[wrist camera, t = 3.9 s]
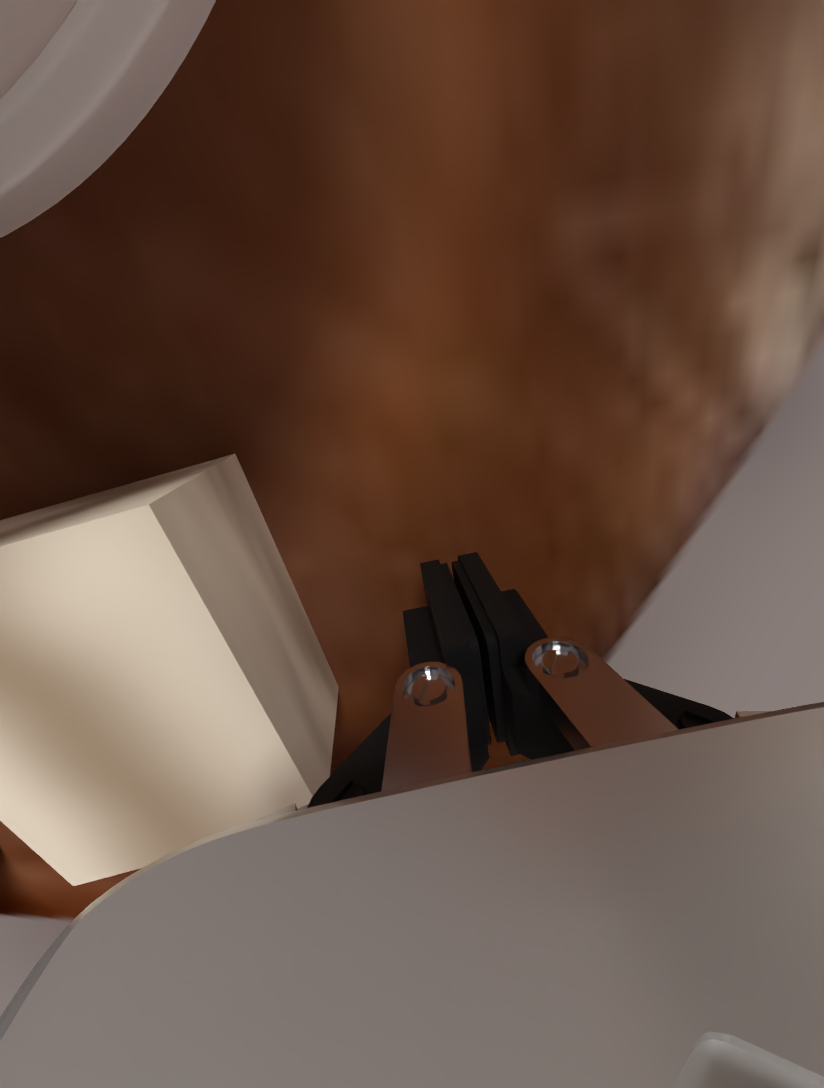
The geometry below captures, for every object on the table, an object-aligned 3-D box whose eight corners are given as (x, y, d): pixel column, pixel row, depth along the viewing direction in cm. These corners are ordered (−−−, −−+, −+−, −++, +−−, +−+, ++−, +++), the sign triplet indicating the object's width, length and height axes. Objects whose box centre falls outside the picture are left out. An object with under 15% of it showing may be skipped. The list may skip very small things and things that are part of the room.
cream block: (237, 452, 11) (148, 504, 7) (339, 683, 15) (325, 818, 11) (7, 517, 12) (-231, 612, 7) (162, 731, 15) (72, 886, 11)
